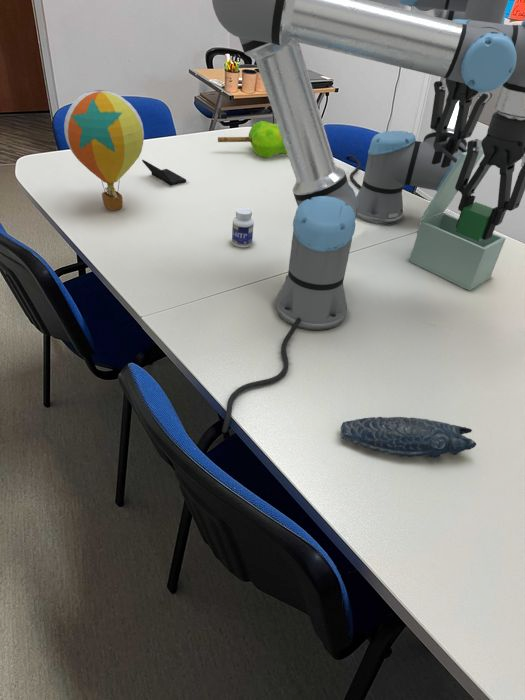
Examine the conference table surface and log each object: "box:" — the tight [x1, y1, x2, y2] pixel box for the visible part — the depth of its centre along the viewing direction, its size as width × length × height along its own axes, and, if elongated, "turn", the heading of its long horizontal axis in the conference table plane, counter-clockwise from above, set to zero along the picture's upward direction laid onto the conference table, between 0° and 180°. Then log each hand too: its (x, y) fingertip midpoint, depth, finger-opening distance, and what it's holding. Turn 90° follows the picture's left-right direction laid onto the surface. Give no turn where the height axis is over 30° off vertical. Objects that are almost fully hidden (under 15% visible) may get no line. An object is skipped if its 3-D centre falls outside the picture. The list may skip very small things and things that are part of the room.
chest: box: [409, 212, 507, 291], centre depth 129 cm, size 17×10×11 cm, turn 43°
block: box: [456, 201, 494, 241], centre depth 107 cm, size 5×5×5 cm
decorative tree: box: [217, 120, 288, 159], centre depth 187 cm, size 18×10×30 cm
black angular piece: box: [141, 159, 187, 187], centre depth 162 cm, size 12×7×10 cm
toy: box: [63, 89, 145, 212], centre depth 136 cm, size 20×20×30 cm
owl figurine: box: [340, 416, 477, 458], centre depth 82 cm, size 7×21×5 cm, turn 84°
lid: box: [420, 140, 484, 221], centre depth 124 cm, size 18×10×8 cm
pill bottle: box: [231, 207, 255, 248], centre depth 132 cm, size 5×5×9 cm
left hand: (473, 231), depth 109 cm, fingers closed on block, 5 cm apart
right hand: (440, 164), depth 123 cm, fingers closed on lid, 2 cm apart
